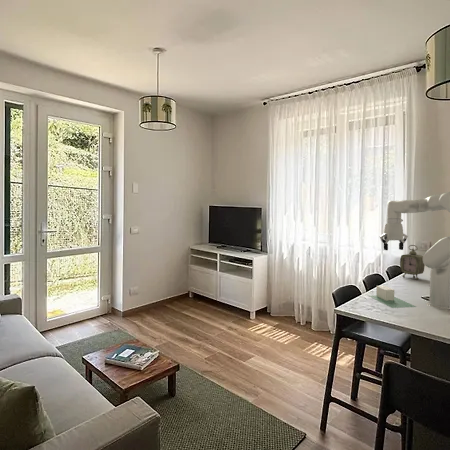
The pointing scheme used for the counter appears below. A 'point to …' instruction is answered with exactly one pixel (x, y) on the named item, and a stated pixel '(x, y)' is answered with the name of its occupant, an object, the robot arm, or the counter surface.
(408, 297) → the counter surface
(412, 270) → the tabletop clock
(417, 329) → the counter surface
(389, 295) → the block
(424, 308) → the counter surface
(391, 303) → the header board
